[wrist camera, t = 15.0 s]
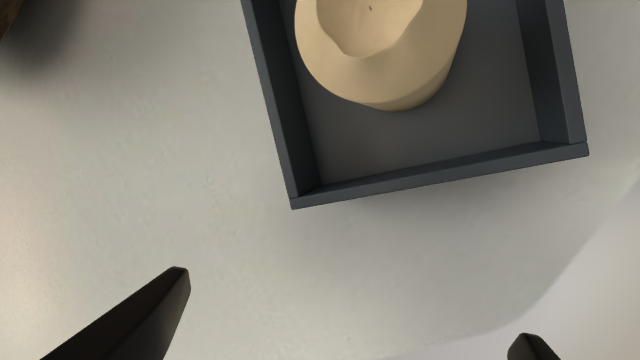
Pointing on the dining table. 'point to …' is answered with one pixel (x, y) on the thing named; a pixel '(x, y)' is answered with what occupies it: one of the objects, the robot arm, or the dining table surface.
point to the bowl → (8, 14)
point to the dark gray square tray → (425, 107)
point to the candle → (380, 48)
